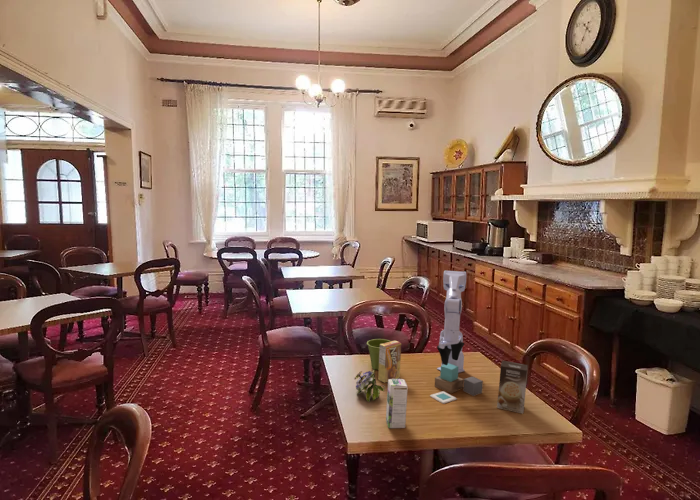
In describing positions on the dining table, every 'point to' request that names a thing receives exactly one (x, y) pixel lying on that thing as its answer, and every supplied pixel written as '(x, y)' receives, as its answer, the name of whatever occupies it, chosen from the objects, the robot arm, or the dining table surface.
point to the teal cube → (449, 372)
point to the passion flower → (365, 382)
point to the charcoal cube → (473, 386)
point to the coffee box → (512, 386)
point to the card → (443, 397)
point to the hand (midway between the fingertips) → (449, 361)
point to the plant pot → (375, 351)
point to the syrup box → (396, 403)
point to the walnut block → (449, 384)
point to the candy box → (389, 361)
